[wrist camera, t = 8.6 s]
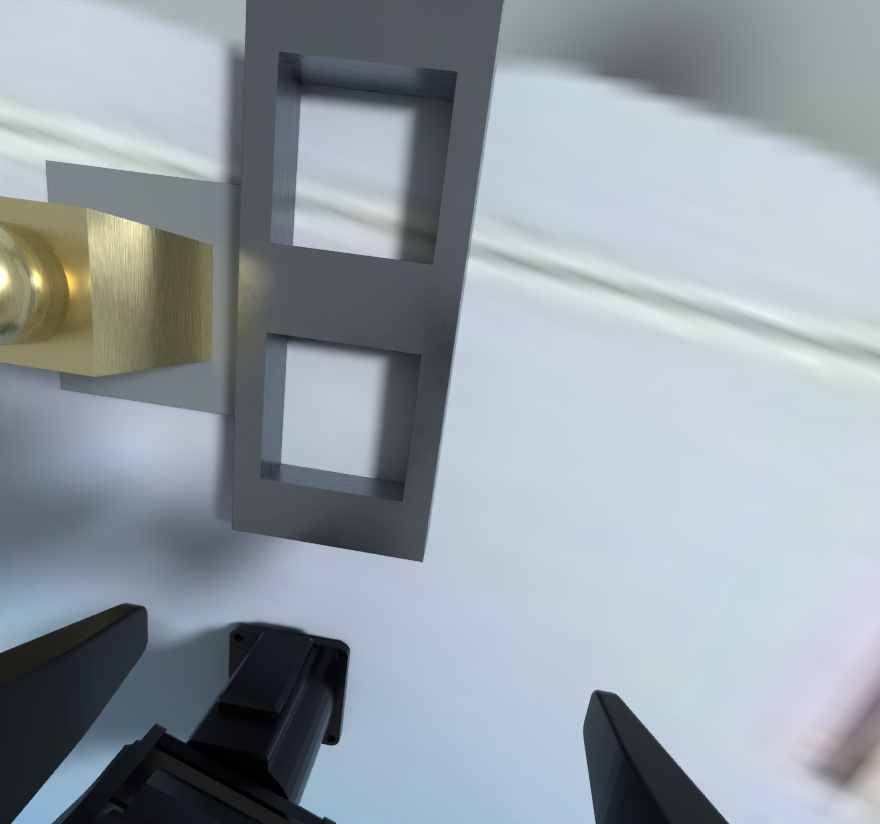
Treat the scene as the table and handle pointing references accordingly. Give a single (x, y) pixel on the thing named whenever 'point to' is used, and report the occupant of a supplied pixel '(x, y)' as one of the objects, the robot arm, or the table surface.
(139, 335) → the brass cube with knob
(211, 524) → the table surface
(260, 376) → the rectangular frame with openings
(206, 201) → the mat
